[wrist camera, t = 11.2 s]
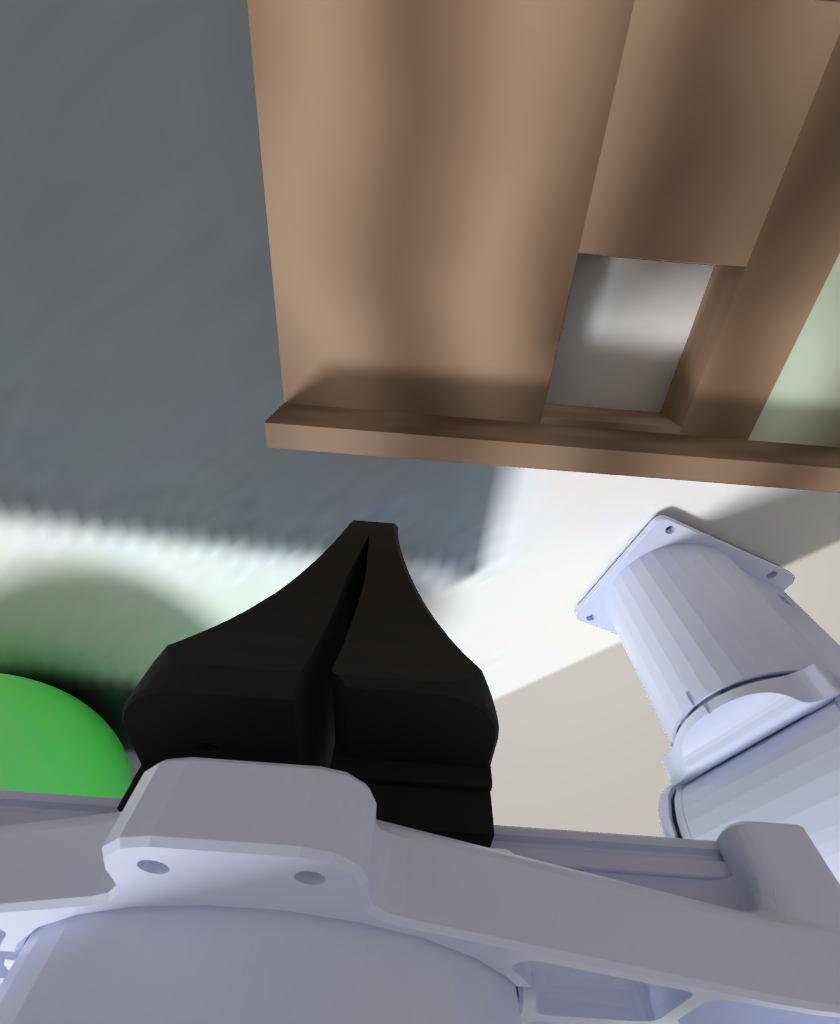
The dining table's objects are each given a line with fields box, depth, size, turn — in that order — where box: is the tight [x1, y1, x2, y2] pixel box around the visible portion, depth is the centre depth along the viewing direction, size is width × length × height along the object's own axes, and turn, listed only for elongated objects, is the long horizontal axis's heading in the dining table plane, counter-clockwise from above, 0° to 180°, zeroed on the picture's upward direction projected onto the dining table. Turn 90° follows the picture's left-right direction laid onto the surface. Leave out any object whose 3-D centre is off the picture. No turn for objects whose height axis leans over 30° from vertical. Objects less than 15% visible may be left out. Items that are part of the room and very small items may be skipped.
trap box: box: [247, 0, 840, 492], centre depth 13 cm, size 28×21×5 cm
